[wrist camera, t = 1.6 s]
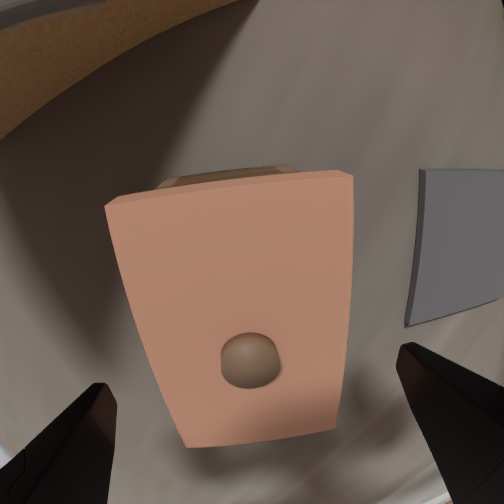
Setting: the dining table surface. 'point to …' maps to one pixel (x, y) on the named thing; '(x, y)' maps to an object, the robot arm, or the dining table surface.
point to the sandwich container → (73, 43)
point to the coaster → (457, 242)
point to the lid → (242, 300)
